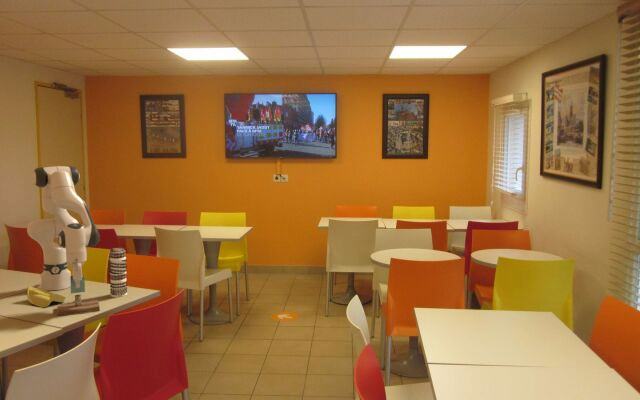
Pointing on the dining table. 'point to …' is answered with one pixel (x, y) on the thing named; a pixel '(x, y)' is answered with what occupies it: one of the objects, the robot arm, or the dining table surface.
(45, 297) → the plastic component
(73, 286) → the housing cap
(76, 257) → the robot arm
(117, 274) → the brown white cylinder
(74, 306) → the stub plate
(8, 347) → the dining table surface
